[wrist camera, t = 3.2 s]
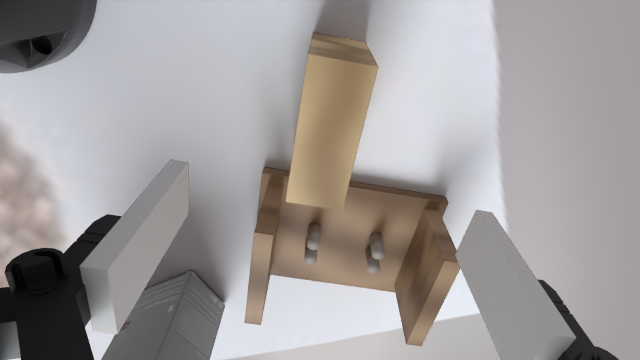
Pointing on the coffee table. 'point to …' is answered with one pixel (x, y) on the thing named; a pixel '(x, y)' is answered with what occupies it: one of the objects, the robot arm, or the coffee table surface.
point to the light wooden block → (330, 120)
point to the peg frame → (356, 247)
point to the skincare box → (170, 323)
